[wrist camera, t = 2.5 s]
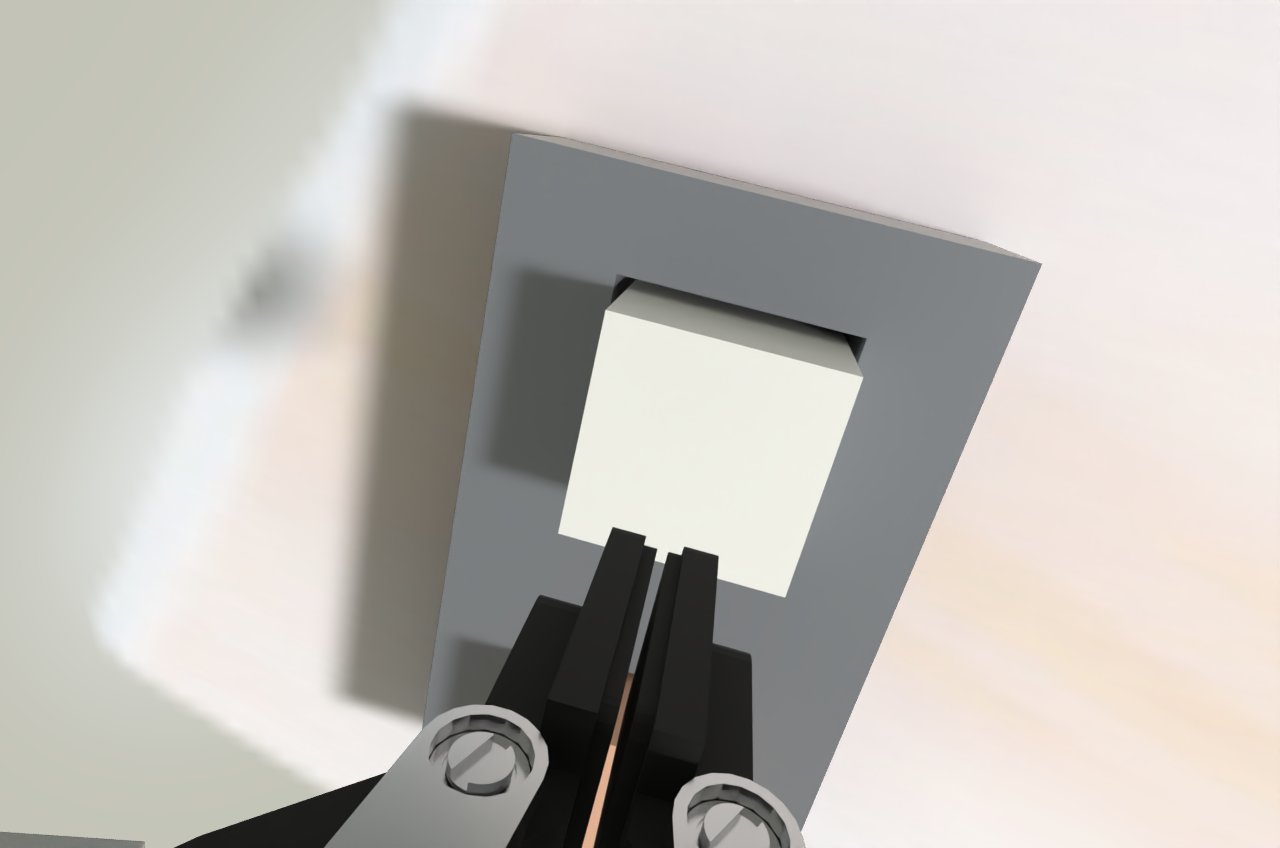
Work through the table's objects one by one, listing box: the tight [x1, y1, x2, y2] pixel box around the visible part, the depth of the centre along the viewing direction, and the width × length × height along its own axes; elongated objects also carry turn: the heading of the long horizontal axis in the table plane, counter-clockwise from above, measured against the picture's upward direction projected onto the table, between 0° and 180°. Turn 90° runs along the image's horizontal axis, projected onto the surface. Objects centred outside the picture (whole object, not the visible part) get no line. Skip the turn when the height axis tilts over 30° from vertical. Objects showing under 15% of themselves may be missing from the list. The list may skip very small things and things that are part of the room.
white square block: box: [558, 280, 863, 597], centre depth 18 cm, size 5×5×4 cm
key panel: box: [422, 133, 1042, 831], centre depth 22 cm, size 22×12×4 cm, turn 167°
